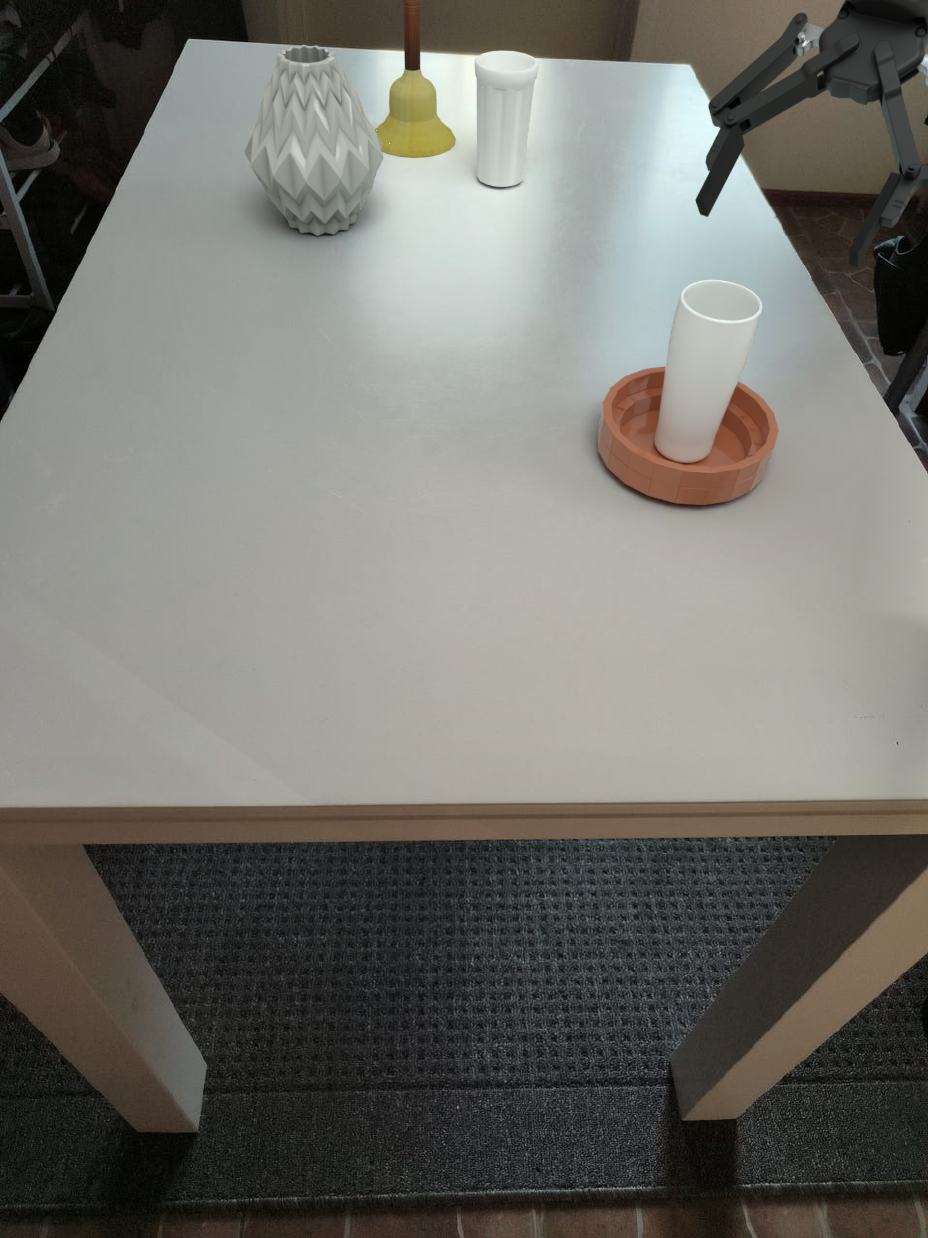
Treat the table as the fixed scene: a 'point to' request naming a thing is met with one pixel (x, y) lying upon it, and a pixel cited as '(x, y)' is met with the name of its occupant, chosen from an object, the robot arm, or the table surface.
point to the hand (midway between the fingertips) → (774, 233)
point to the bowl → (704, 482)
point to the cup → (503, 114)
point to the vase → (313, 142)
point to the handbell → (413, 102)
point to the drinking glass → (704, 365)
